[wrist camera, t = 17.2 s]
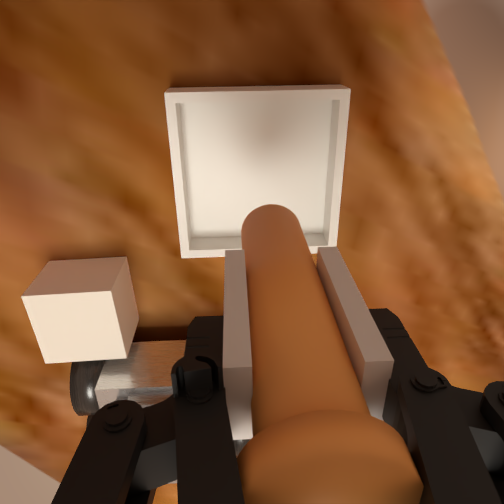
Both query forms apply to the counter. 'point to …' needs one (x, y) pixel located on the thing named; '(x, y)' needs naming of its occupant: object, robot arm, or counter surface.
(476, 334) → the counter surface
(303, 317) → the pin
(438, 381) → the robot arm
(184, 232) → the tray
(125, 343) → the off-white matte cube
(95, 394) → the trolley
